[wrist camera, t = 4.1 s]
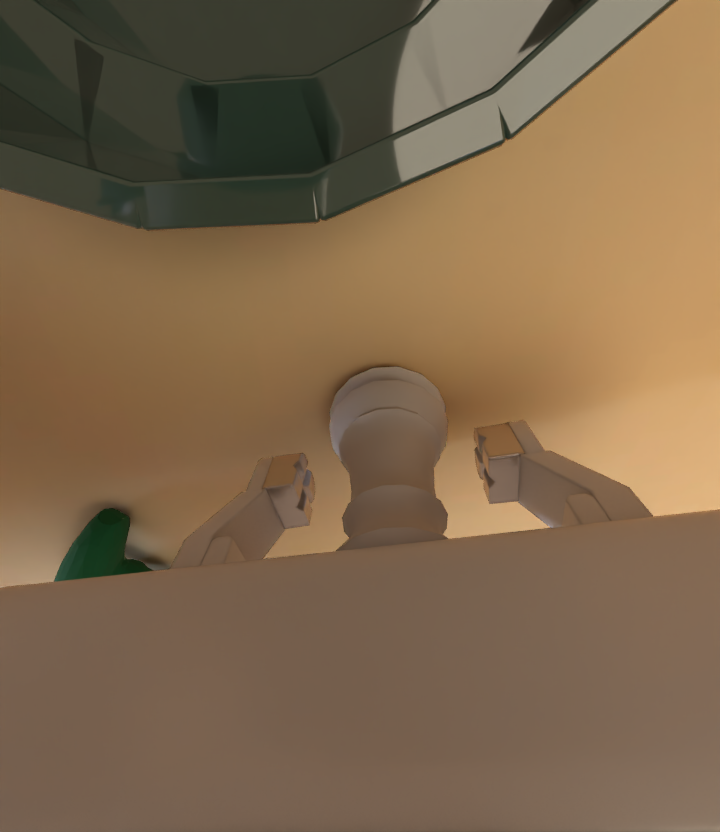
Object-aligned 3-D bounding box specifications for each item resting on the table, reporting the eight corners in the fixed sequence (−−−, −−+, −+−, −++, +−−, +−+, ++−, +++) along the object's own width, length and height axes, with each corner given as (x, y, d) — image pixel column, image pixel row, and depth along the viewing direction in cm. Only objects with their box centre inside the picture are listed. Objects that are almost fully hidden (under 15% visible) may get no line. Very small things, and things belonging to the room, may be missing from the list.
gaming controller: (112, 494, 20) (27, 600, 18) (100, 507, 16) (-6, 640, 15) (254, 567, 23) (194, 663, 21) (268, 591, 20) (198, 707, 18)
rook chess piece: (429, 461, 16) (474, 672, 9) (326, 450, 16) (293, 656, 9) (457, 368, 13) (545, 560, 7) (335, 352, 13) (298, 535, 6)
